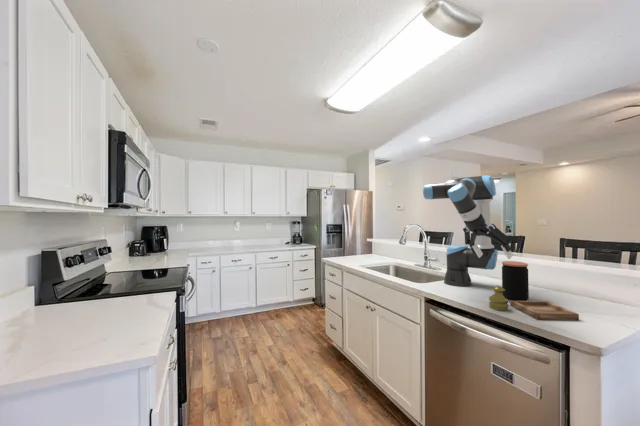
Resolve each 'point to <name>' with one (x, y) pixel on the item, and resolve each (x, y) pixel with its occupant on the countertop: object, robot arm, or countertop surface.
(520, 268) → the coffee jar
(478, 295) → the countertop surface
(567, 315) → the tray
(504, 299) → the olive green tiered piece
